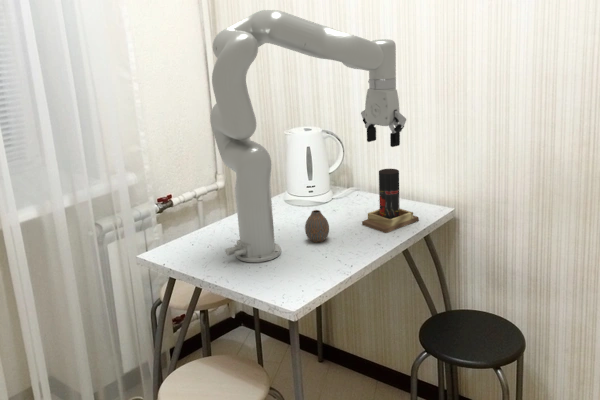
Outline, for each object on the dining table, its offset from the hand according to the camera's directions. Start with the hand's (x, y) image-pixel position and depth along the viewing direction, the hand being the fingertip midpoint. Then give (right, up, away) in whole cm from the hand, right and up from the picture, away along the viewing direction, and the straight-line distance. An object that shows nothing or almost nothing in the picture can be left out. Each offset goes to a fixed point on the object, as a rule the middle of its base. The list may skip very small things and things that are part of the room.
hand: (383, 143), depth 192 cm
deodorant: (+3, -22, +7) cm, 24 cm away
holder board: (+3, -23, +7) cm, 25 cm away
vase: (-19, -28, -2) cm, 34 cm away
